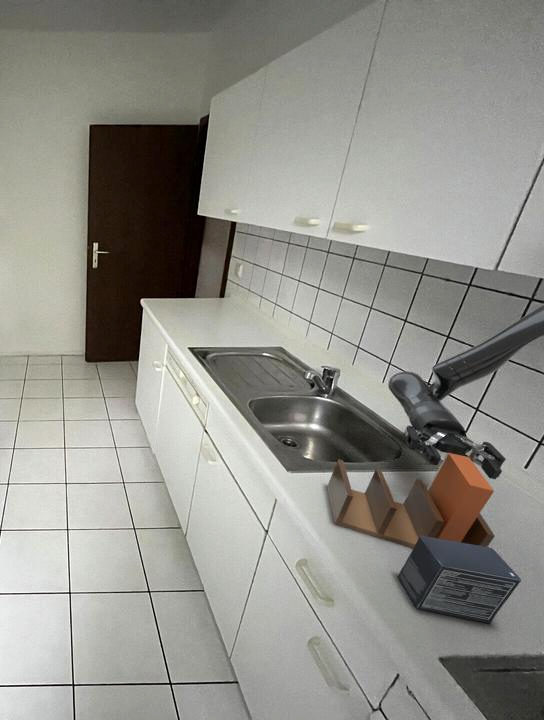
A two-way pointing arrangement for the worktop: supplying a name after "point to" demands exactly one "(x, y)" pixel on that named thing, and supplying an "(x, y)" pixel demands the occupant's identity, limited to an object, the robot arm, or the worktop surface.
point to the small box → (457, 579)
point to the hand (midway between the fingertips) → (465, 468)
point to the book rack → (393, 511)
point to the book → (458, 495)
